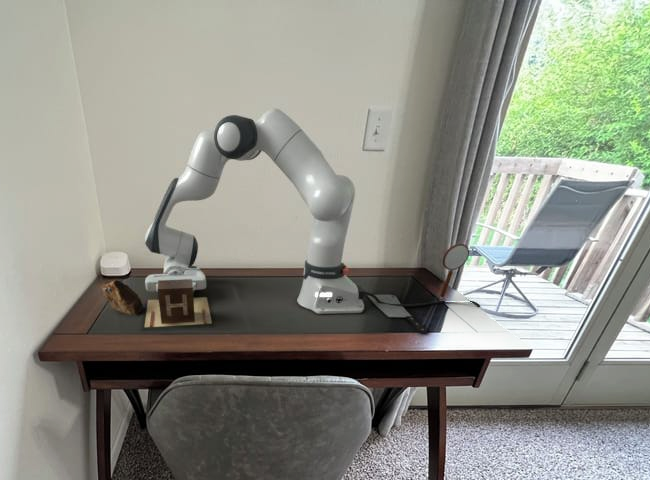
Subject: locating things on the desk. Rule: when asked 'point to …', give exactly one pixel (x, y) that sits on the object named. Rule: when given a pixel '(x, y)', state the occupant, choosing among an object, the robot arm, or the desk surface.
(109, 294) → the decorative rock
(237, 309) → the desk surface
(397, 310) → the cleaver
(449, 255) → the magnifying glass
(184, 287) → the tall rectangular block
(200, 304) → the game board
